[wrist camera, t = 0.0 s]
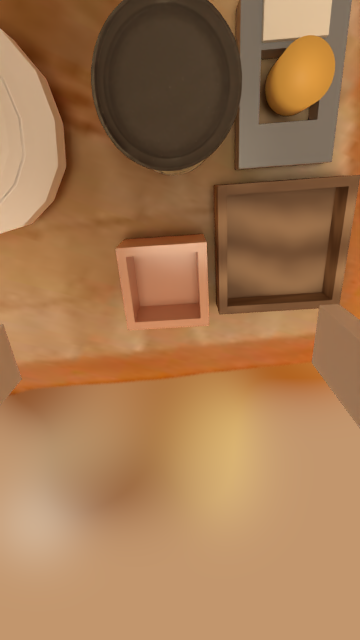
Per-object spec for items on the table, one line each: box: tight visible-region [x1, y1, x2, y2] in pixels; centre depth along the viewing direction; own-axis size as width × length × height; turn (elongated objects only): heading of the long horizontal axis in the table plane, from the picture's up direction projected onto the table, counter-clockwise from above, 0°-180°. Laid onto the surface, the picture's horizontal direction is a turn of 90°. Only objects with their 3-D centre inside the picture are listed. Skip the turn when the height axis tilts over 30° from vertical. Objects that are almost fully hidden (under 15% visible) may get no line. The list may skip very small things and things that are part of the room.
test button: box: [265, 35, 335, 116], centre depth 28 cm, size 5×5×4 cm
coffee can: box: [91, 0, 242, 175], centre depth 27 cm, size 10×10×14 cm
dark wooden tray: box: [214, 175, 360, 314], centre depth 37 cm, size 15×15×4 cm
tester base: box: [235, 0, 352, 170], centre depth 31 cm, size 14×10×3 cm
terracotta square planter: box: [115, 234, 209, 330], centre depth 38 cm, size 10×10×6 cm
